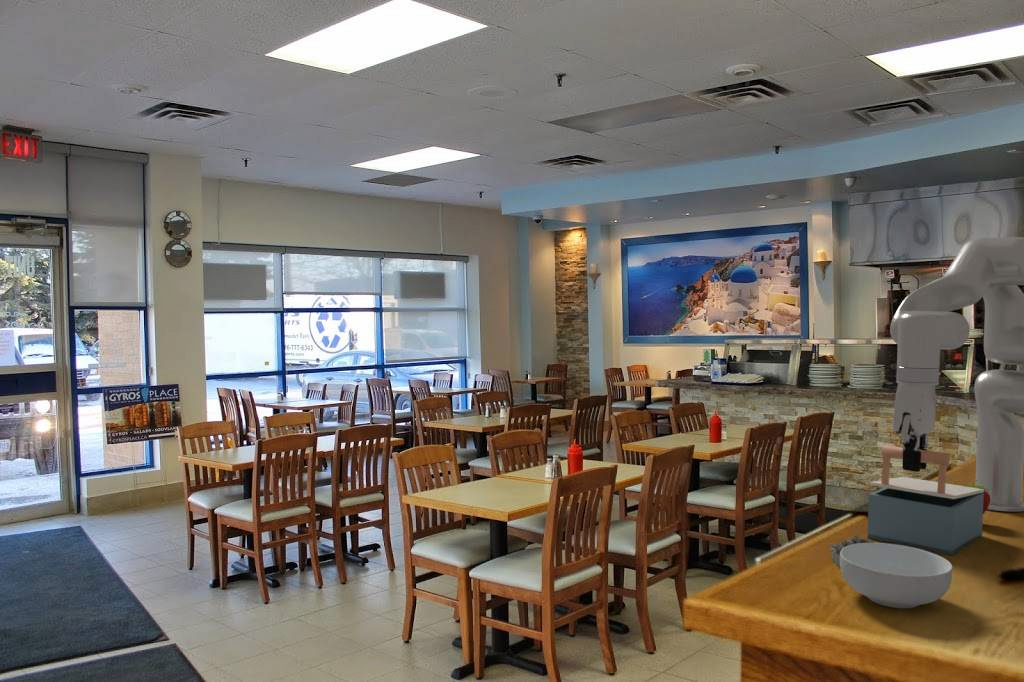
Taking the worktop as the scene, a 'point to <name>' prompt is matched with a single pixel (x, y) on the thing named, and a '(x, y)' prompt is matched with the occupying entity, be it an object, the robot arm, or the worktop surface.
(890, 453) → the flap
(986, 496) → the strawberry
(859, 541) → the egg carton
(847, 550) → the cereal bowl
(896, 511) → the carton
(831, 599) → the worktop surface
